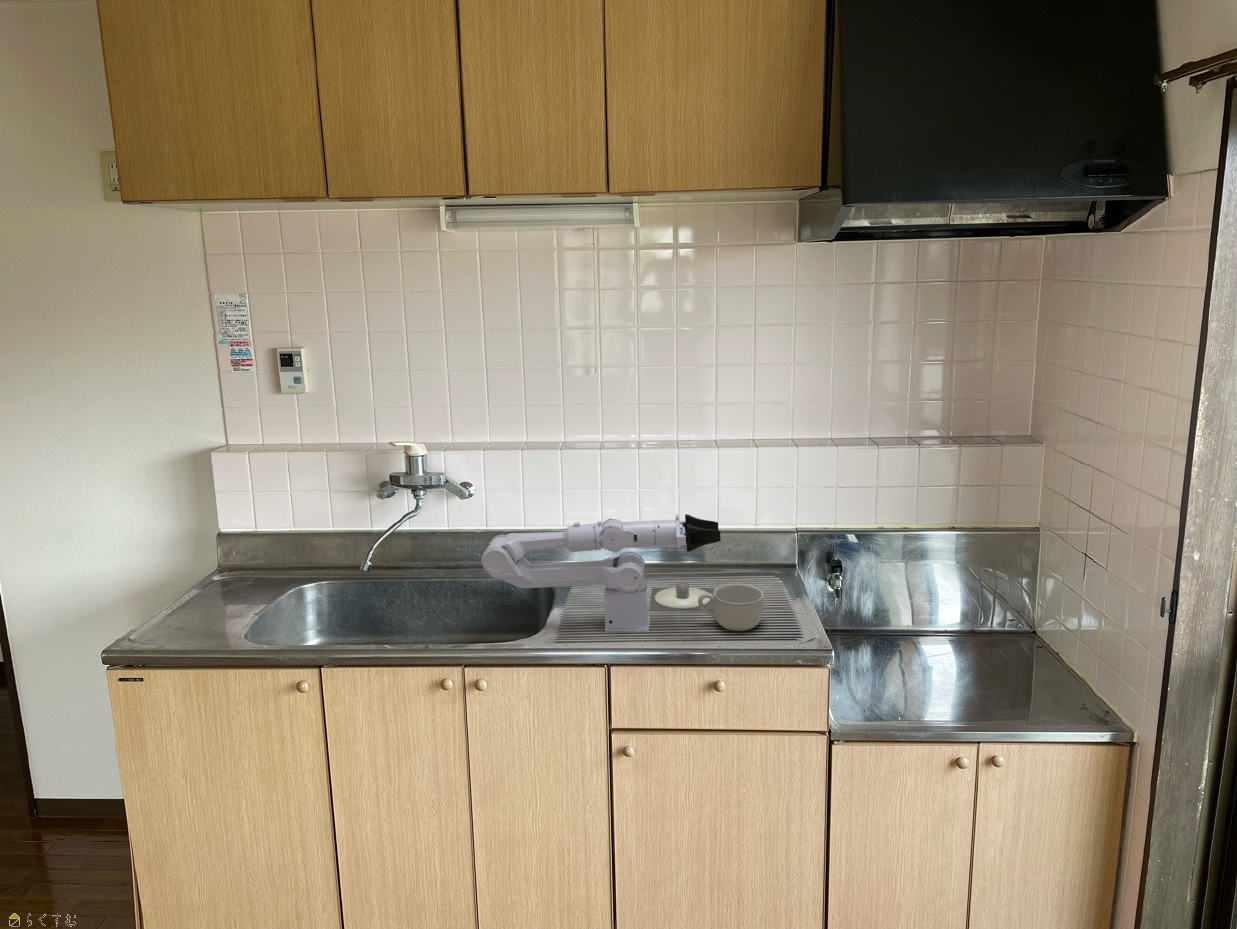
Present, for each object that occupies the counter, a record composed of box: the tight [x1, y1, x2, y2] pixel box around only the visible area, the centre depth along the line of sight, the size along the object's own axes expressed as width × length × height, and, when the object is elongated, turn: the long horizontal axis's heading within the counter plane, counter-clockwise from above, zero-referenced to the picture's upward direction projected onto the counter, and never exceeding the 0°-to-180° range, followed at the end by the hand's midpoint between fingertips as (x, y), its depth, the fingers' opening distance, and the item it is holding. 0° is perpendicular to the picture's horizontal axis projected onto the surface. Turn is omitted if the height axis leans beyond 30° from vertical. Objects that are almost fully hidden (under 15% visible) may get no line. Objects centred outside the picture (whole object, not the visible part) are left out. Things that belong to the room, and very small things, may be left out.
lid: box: [655, 581, 710, 609], centre depth 214 cm, size 13×13×4 cm
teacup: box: [698, 583, 765, 632], centre depth 199 cm, size 14×11×8 cm
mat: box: [648, 587, 715, 612], centre depth 215 cm, size 15×15×1 cm
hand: (719, 531), depth 196 cm, fingers open, 7 cm apart
